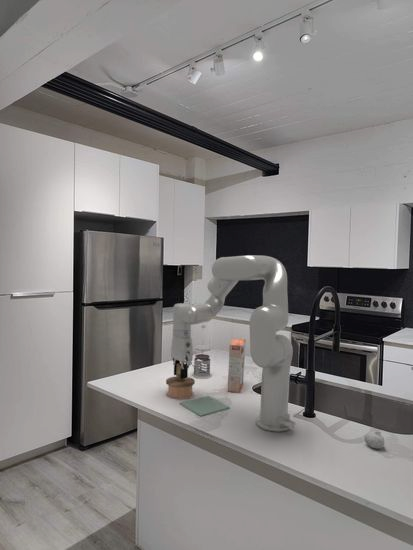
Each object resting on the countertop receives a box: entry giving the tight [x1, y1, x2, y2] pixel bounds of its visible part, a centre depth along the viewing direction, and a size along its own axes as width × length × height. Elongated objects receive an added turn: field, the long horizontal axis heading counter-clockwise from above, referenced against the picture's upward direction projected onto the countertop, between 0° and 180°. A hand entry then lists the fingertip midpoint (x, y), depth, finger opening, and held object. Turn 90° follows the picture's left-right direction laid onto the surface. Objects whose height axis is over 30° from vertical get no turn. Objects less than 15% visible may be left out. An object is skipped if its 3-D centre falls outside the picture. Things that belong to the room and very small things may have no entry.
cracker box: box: [227, 338, 246, 394], centre depth 172 cm, size 14×6×21 cm, turn 168°
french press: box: [190, 324, 213, 380], centre depth 187 cm, size 10×12×25 cm
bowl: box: [167, 385, 193, 400], centre depth 162 cm, size 10×10×5 cm
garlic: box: [364, 430, 385, 450], centre depth 121 cm, size 6×5×5 cm
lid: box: [165, 362, 196, 387], centre depth 161 cm, size 12×12×8 cm
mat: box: [179, 395, 231, 417], centre depth 150 cm, size 14×14×1 cm
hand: (180, 375), depth 161 cm, fingers open, 4 cm apart
